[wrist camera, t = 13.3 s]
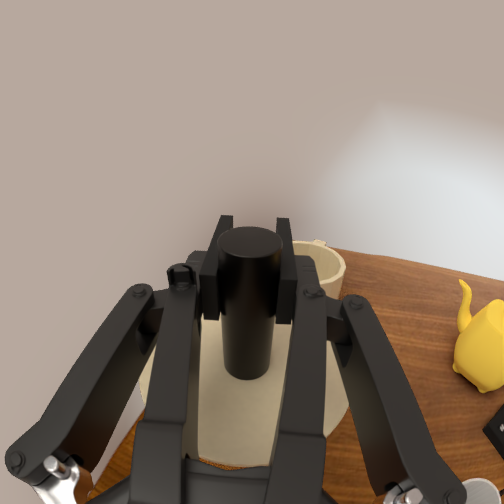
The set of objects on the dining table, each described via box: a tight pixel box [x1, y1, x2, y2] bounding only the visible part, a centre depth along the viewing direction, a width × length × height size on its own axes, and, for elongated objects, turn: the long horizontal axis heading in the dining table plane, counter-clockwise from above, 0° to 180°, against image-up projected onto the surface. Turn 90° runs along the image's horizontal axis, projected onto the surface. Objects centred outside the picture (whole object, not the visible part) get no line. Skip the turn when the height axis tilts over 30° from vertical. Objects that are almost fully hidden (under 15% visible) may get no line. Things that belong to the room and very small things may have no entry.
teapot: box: [453, 279, 504, 393], centre depth 30 cm, size 14×20×13 cm
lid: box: [139, 227, 349, 467], centre depth 15 cm, size 14×14×10 cm
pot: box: [292, 239, 346, 300], centre depth 46 cm, size 13×18×9 cm
